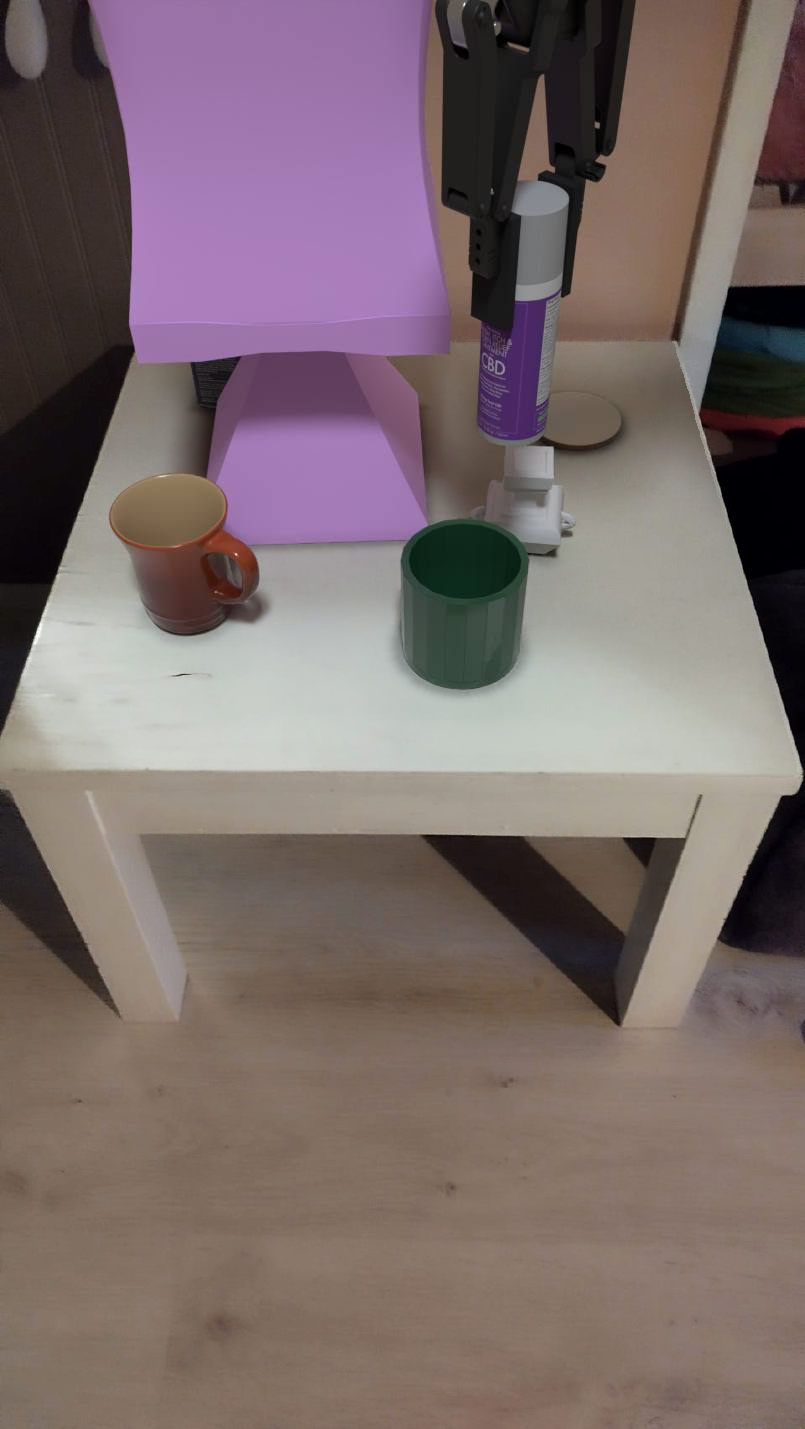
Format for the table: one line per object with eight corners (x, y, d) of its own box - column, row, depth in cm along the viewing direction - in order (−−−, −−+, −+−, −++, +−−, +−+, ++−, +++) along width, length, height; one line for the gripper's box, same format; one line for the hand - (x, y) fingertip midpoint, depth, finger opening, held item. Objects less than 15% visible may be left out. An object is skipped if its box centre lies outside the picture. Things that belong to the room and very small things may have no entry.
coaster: (639, 422, 99) (640, 417, 98) (581, 463, 95) (582, 457, 94) (567, 386, 103) (568, 380, 102) (508, 423, 99) (509, 418, 98)
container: (466, 438, 67) (476, 208, 56) (489, 400, 70) (502, 174, 59) (534, 453, 66) (558, 222, 55) (554, 414, 69) (581, 186, 57)
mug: (115, 620, 82) (83, 521, 74) (185, 558, 87) (162, 459, 79) (231, 678, 78) (210, 580, 70) (298, 610, 83) (286, 511, 75)
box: (251, 412, 101) (236, 309, 92) (196, 407, 101) (177, 305, 93) (270, 368, 106) (257, 267, 97) (217, 364, 106) (200, 263, 98)
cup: (543, 645, 80) (555, 559, 73) (463, 708, 76) (468, 624, 69) (458, 588, 84) (461, 502, 77) (378, 646, 80) (374, 560, 73)
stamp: (574, 517, 90) (586, 437, 83) (572, 568, 85) (584, 488, 79) (473, 510, 90) (477, 429, 84) (465, 559, 86) (469, 479, 80)
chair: (431, 400, 101) (437, -198, 67) (444, 549, 87) (461, -111, 52) (207, 407, 101) (96, -190, 66) (184, 558, 87) (27, -101, 52)
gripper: (617, -245, 49) (564, 235, 67) (353, -188, 41) (373, 338, 59) (751, -228, 46) (658, 273, 64) (491, -162, 38) (468, 388, 56)
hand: (521, 303), depth 62 cm, fingers closed on container, 5 cm apart
